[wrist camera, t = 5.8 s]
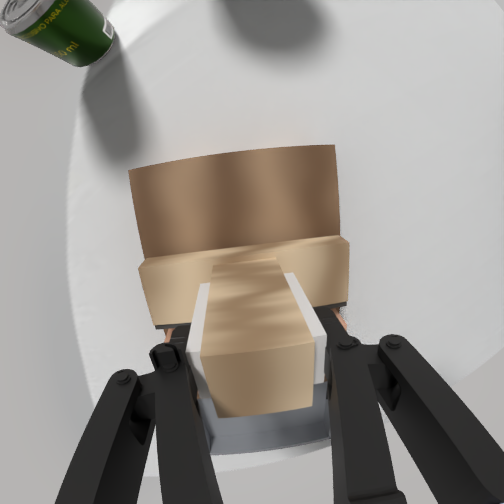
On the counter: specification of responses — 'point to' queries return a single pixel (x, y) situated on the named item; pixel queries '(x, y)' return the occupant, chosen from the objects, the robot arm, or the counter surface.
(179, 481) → the robot arm
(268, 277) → the stepped wooden block
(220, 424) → the bin
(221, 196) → the board
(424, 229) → the counter surface
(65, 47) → the beer can
